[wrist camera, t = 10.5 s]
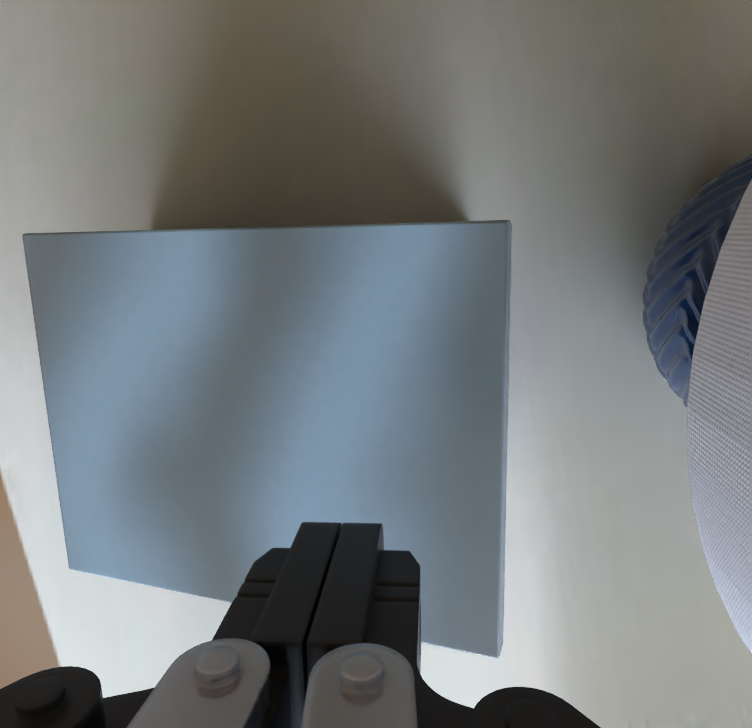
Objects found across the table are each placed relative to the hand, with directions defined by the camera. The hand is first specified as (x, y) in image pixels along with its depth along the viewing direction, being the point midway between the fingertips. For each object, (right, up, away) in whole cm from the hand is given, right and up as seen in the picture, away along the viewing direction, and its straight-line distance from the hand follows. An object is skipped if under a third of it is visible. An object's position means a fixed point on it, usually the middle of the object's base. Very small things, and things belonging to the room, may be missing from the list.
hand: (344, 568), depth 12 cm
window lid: (-3, +2, +9) cm, 10 cm away
